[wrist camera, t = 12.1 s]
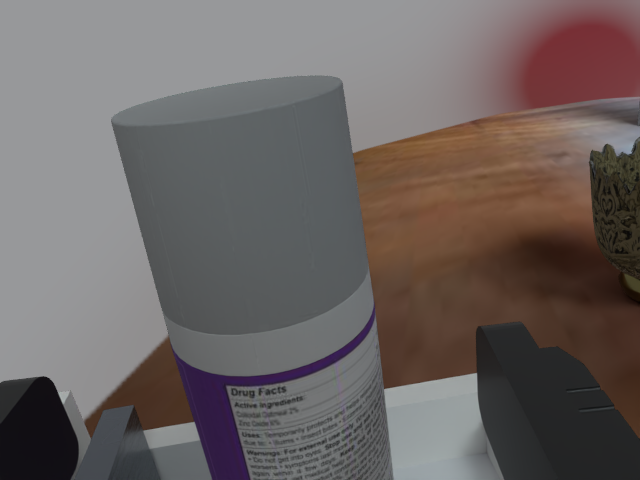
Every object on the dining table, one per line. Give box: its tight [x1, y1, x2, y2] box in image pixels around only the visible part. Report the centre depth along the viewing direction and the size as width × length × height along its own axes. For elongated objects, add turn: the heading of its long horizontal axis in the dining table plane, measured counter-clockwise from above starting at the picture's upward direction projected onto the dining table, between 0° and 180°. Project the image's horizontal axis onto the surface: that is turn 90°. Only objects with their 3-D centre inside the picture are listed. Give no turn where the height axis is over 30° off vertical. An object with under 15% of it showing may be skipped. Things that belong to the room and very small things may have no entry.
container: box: [111, 76, 394, 480], centre depth 13 cm, size 5×5×15 cm
